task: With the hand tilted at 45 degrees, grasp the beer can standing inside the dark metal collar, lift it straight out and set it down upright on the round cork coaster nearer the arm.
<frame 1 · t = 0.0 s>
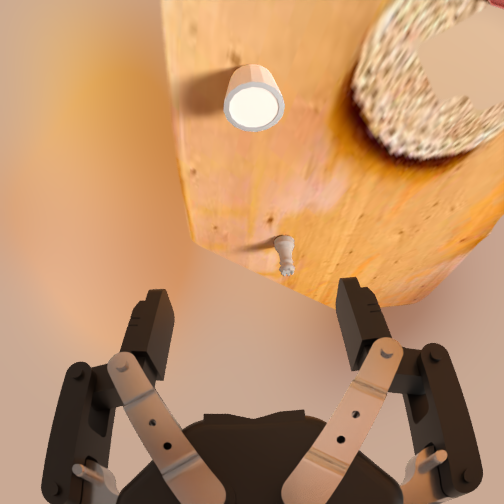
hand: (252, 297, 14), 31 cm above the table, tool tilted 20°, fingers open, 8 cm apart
white tapered cylinder: (251, 81, 35), on the table
rook chess piece: (283, 239, 66), on the table
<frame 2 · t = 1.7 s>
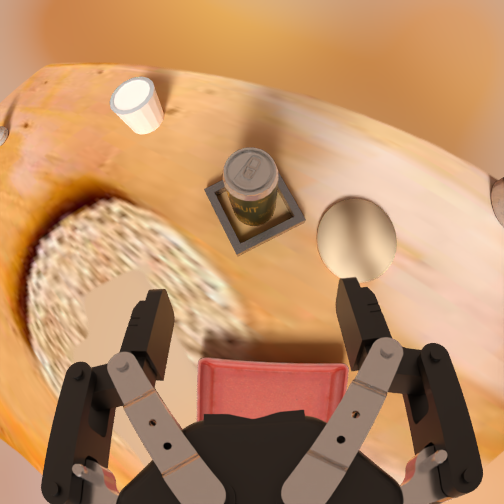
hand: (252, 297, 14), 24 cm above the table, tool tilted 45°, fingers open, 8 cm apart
plant saucer: (269, 420, 36), on the table
coaster: (357, 240, 38), on the table
white tapered cylinder: (147, 119, 43), on the table
rook chess piece: (3, 138, 45), on the table
collar: (254, 207, 40), on the table
beer can: (254, 207, 40), resting in collar
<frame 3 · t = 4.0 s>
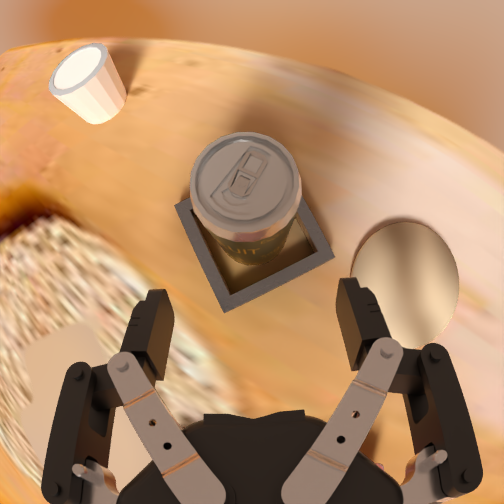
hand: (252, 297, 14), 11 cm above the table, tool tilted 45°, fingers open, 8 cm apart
coaster: (408, 285, 24), on the table
white tapered cylinder: (105, 104, 28), on the table
collar: (253, 233, 25), on the table
beer can: (253, 234, 25), resting in collar
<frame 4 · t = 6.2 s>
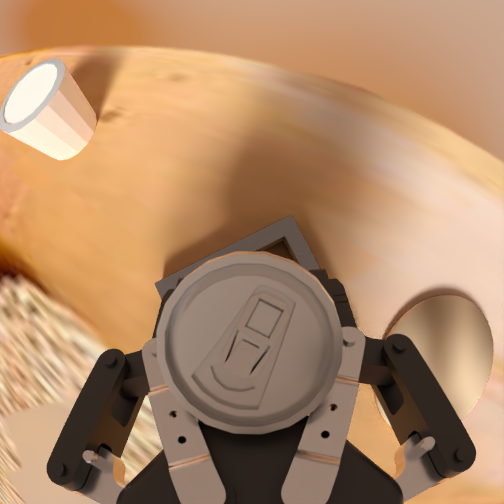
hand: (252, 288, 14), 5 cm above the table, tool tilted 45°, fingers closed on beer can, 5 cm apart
coaster: (438, 368, 18), on the table
white tapered cylinder: (72, 133, 22), on the table
collar: (257, 318, 19), on the table
beer can: (257, 318, 20), resting in collar, touching gripper
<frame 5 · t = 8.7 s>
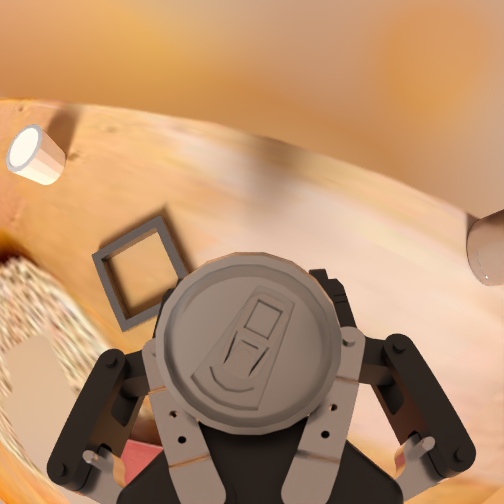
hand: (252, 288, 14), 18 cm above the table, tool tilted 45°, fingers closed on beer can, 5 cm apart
plant saucer: (176, 490, 29), on the table
white tapered cylinder: (51, 167, 36), on the table
collar: (144, 275, 33), on the table
beer can: (257, 318, 20), point 12 cm above the table, touching gripper
when the fingers open (7 cm above the table, at t = 11.4 s): beer can drops 1 cm, resting on coaster.
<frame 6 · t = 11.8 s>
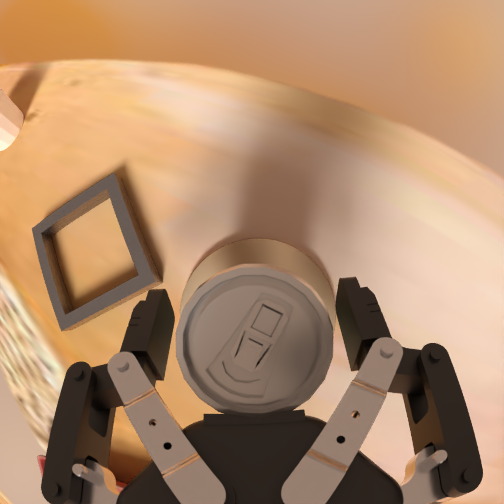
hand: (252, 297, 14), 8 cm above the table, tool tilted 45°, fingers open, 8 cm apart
coaster: (257, 316, 22), on the table
white tapered cylinder: (9, 131, 26), on the table
collar: (92, 254, 23), on the table
beer can: (260, 319, 21), resting on coaster
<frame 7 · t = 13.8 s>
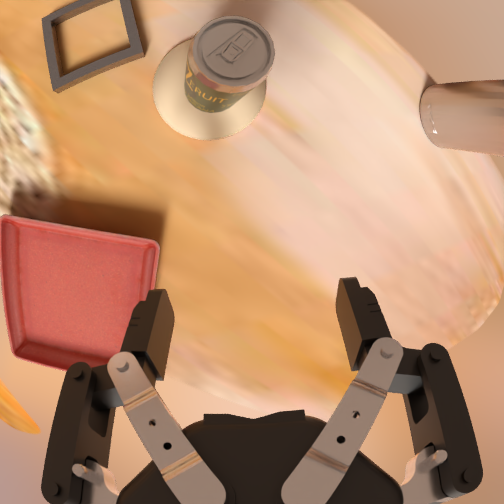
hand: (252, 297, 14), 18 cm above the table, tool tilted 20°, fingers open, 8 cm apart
plant saucer: (77, 295, 30), on the table
coaster: (209, 86, 26), on the table
collar: (91, 36, 21), on the table
beer can: (211, 88, 26), resting on coaster
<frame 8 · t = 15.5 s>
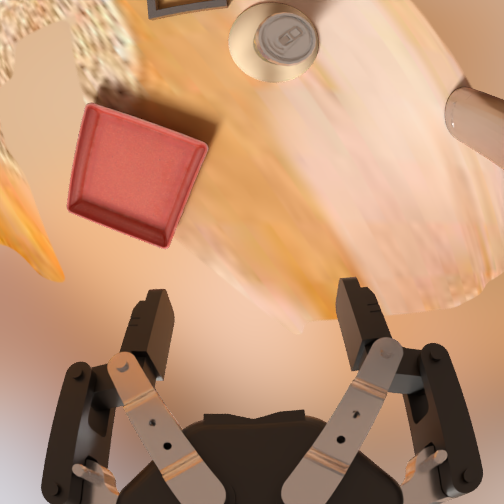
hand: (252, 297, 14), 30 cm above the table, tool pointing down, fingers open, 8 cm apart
plant saucer: (134, 171, 42), on the table
coaster: (273, 42, 31), on the table
beer can: (274, 44, 31), resting on coaster
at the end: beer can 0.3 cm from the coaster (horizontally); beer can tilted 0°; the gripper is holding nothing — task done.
